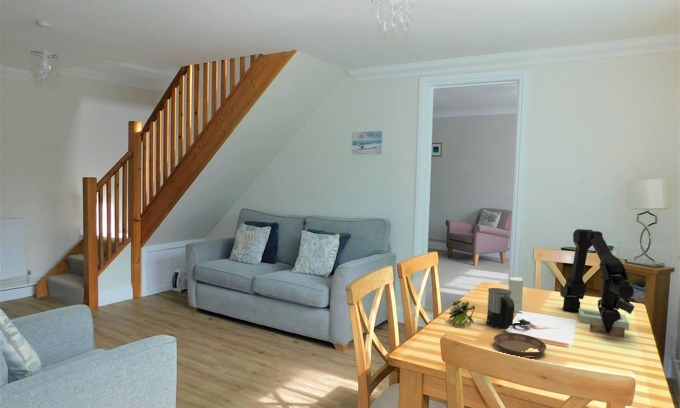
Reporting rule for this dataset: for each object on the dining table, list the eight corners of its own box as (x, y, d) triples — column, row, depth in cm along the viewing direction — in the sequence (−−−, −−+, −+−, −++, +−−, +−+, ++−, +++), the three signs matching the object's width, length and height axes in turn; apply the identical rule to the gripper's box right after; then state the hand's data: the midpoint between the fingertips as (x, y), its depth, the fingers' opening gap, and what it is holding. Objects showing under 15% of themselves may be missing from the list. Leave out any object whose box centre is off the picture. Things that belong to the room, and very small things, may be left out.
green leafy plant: (454, 332, 191) (461, 306, 196) (478, 335, 183) (483, 308, 188) (441, 322, 185) (447, 295, 190) (464, 324, 177) (471, 296, 182)
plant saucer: (519, 363, 150) (519, 354, 150) (482, 343, 166) (483, 335, 166) (557, 356, 157) (557, 348, 157) (518, 338, 173) (519, 330, 173)
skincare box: (521, 313, 204) (524, 281, 203) (507, 311, 206) (510, 279, 205) (520, 307, 212) (522, 277, 211) (506, 306, 214) (509, 275, 213)
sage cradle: (579, 322, 195) (580, 315, 195) (578, 314, 206) (578, 308, 206) (628, 330, 188) (629, 323, 187) (624, 321, 198) (624, 315, 198)
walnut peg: (589, 332, 184) (590, 323, 183) (589, 329, 187) (590, 321, 186) (623, 338, 178) (624, 330, 178) (623, 336, 181) (624, 327, 181)
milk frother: (480, 323, 188) (483, 288, 187) (506, 318, 196) (509, 285, 195) (508, 334, 176) (511, 297, 175) (534, 329, 184) (537, 293, 183)
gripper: (637, 300, 169) (633, 341, 170) (629, 289, 186) (626, 326, 187) (603, 296, 174) (600, 335, 175) (599, 285, 191) (595, 321, 192)
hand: (606, 329), depth 182 cm, fingers open, 9 cm apart
